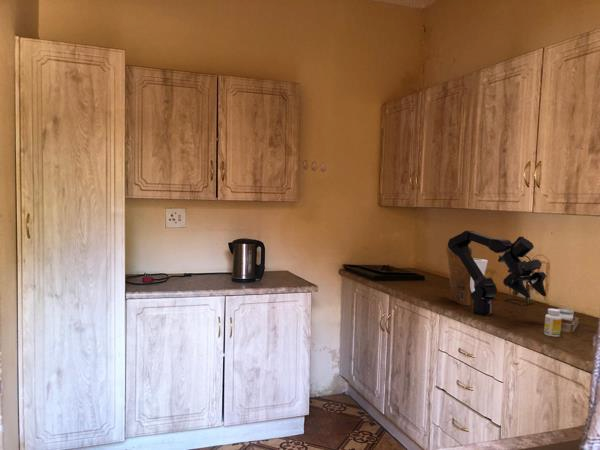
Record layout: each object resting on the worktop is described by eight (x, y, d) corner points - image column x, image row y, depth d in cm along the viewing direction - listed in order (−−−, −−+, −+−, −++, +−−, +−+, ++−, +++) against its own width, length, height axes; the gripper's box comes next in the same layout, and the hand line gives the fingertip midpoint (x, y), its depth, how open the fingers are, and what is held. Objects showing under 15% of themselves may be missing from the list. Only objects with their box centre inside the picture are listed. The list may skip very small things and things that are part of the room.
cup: (482, 290, 256) (484, 259, 255) (488, 294, 246) (490, 261, 245) (463, 289, 257) (464, 258, 256) (468, 293, 247) (470, 260, 246)
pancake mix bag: (462, 306, 213) (466, 247, 211) (441, 297, 231) (444, 243, 230) (475, 306, 214) (478, 247, 213) (453, 297, 233) (456, 243, 231)
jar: (555, 324, 183) (556, 309, 183) (557, 321, 188) (558, 307, 188) (571, 327, 180) (572, 312, 180) (573, 324, 184) (574, 310, 184)
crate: (547, 329, 177) (547, 320, 177) (554, 322, 190) (554, 313, 190) (572, 334, 172) (573, 325, 172) (578, 326, 185) (578, 317, 184)
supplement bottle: (542, 334, 170) (543, 309, 169) (546, 332, 174) (547, 307, 173) (558, 337, 166) (560, 312, 166) (561, 335, 170) (563, 310, 170)
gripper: (511, 252, 176) (534, 285, 166) (543, 252, 184) (567, 283, 174) (493, 269, 183) (515, 302, 174) (525, 268, 191) (547, 299, 182)
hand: (537, 296), depth 176 cm, fingers open, 9 cm apart
